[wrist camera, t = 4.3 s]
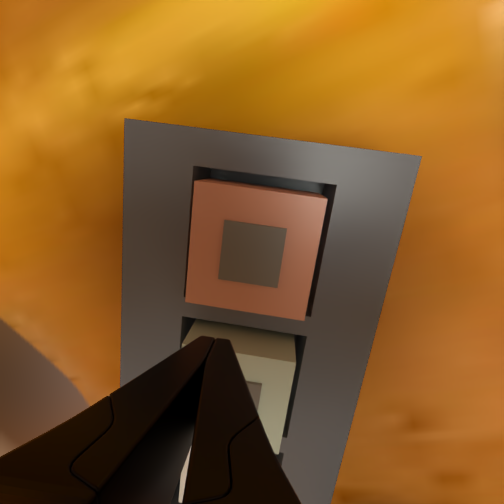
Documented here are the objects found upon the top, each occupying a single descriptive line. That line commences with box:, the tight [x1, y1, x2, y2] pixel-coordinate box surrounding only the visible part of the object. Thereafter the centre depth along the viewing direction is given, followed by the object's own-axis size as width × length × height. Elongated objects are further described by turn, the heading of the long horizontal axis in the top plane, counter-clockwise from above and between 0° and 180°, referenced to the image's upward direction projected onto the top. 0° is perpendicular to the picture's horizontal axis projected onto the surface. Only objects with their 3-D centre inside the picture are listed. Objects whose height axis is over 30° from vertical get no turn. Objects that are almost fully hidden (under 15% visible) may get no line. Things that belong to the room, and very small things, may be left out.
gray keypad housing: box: [120, 118, 422, 504], centre depth 18 cm, size 23×12×5 cm, turn 173°
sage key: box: [182, 318, 296, 454], centre depth 15 cm, size 5×5×3 cm
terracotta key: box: [185, 178, 328, 321], centre depth 14 cm, size 5×5×3 cm
